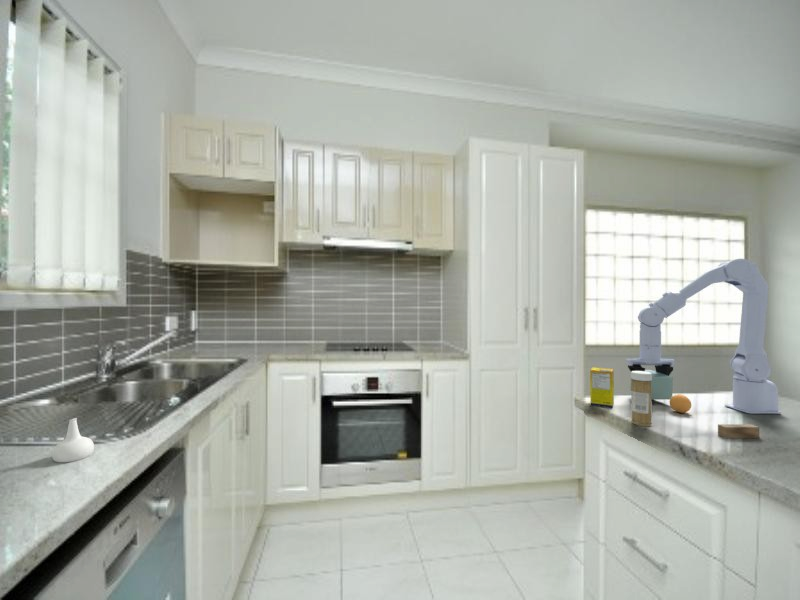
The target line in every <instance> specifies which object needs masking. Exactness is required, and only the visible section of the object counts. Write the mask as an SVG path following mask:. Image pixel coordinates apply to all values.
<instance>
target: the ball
mask: <svg viewBox="0 0 800 600" xmlns="http://www.w3.org/2000/svg"><path fill="white" fill-rule="evenodd" d="M669 406H670V407H671V409H672V410H673V411H675V412H677V413H683V414H684V413H687V412H689V411H690V410H691V408H692V402H691V400H690V399H689V397H687V396H686V395H683V394H674V395H672V397H671V399H670V400H669Z"/></svg>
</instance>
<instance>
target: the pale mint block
mask: <svg viewBox="0 0 800 600" xmlns="http://www.w3.org/2000/svg"><path fill="white" fill-rule="evenodd" d="M645 372H650V373H651V374H652V380H651V401H652V400H654V401H656V400H660V401H661V400H662V401H663V400H669V401H670V399H671V397H672V396H673V390H674V389H673V385H674V377H673V376H671V375H669V376H668V375H665V374H662V373H659V372H656V370H654V369H653V370H652V369H645ZM631 390H632V380H631V379H630V391H631Z"/></svg>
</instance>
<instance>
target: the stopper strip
mask: <svg viewBox="0 0 800 600" xmlns="http://www.w3.org/2000/svg"><path fill="white" fill-rule="evenodd" d="M717 435H718V436H719V437H722V438H724V439H760V426H756V425H754V424H751V423H750V424H748V423H746V424H745V423H744V424H739V423H738V424H735V423H734V424H733V423H732V424H731V423H730V424H725V423H724V424H723V423H721V424H717Z"/></svg>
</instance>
